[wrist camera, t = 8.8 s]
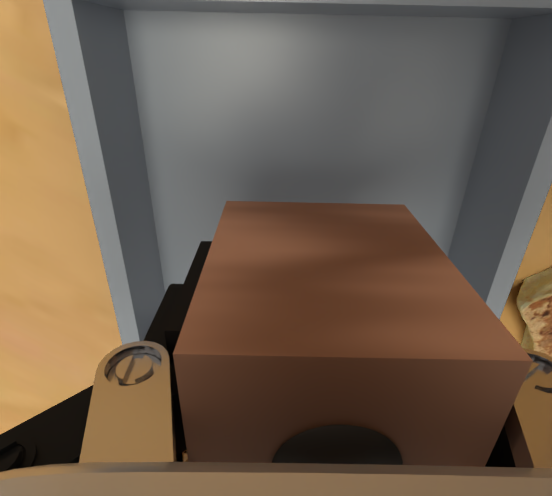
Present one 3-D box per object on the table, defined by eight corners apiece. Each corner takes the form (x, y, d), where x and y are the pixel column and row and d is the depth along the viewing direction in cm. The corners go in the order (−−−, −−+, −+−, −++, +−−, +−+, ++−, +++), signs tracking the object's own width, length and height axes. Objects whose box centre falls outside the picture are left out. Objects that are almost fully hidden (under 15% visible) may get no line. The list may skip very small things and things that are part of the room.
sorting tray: (532, -6, 14) (631, -27, 10) (436, 328, 21) (471, 392, 18) (104, -15, 14) (34, -39, 10) (159, 321, 22) (131, 383, 18)
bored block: (404, 204, 10) (535, 363, 5) (378, 341, 13) (449, 548, 7) (226, 200, 10) (171, 356, 5) (232, 338, 13) (199, 544, 7)
